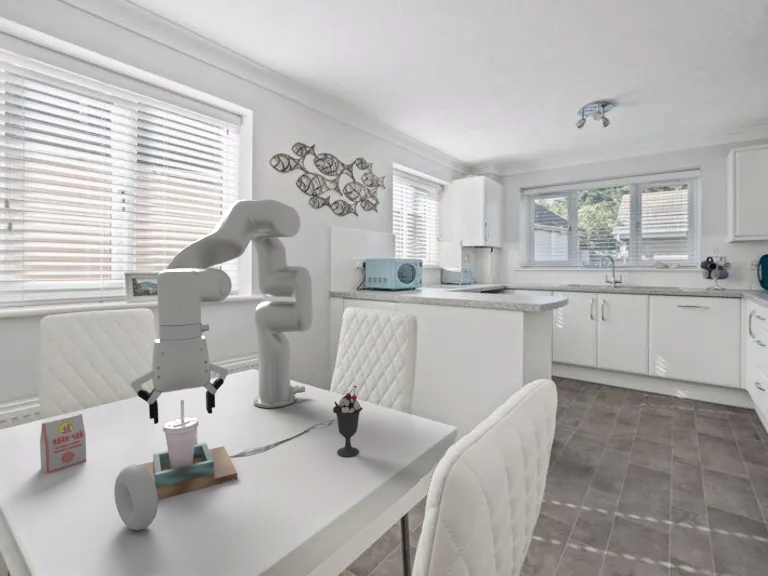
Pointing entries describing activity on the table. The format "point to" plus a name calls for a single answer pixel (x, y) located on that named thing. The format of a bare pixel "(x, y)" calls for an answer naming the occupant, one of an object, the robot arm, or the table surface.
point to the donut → (136, 497)
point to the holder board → (191, 471)
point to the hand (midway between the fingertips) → (183, 416)
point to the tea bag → (62, 443)
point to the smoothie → (181, 439)
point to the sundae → (347, 422)
